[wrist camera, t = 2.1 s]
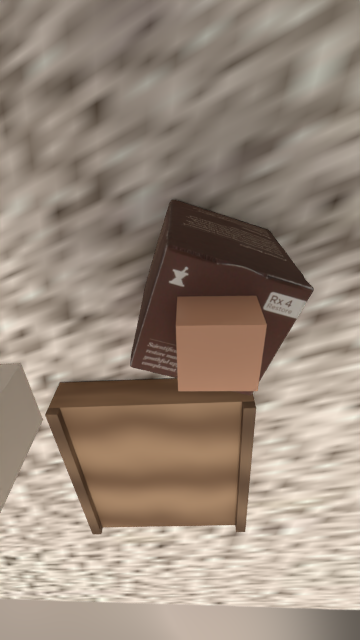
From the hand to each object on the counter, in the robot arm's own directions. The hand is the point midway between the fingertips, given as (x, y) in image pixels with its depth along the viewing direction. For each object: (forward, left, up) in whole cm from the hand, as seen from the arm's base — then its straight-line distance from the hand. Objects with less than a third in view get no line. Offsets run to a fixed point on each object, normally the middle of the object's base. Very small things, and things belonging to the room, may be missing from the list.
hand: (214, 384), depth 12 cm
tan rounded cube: (-1, 0, -3) cm, 3 cm away
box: (0, 0, -10) cm, 10 cm away
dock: (+17, -4, -10) cm, 20 cm away
